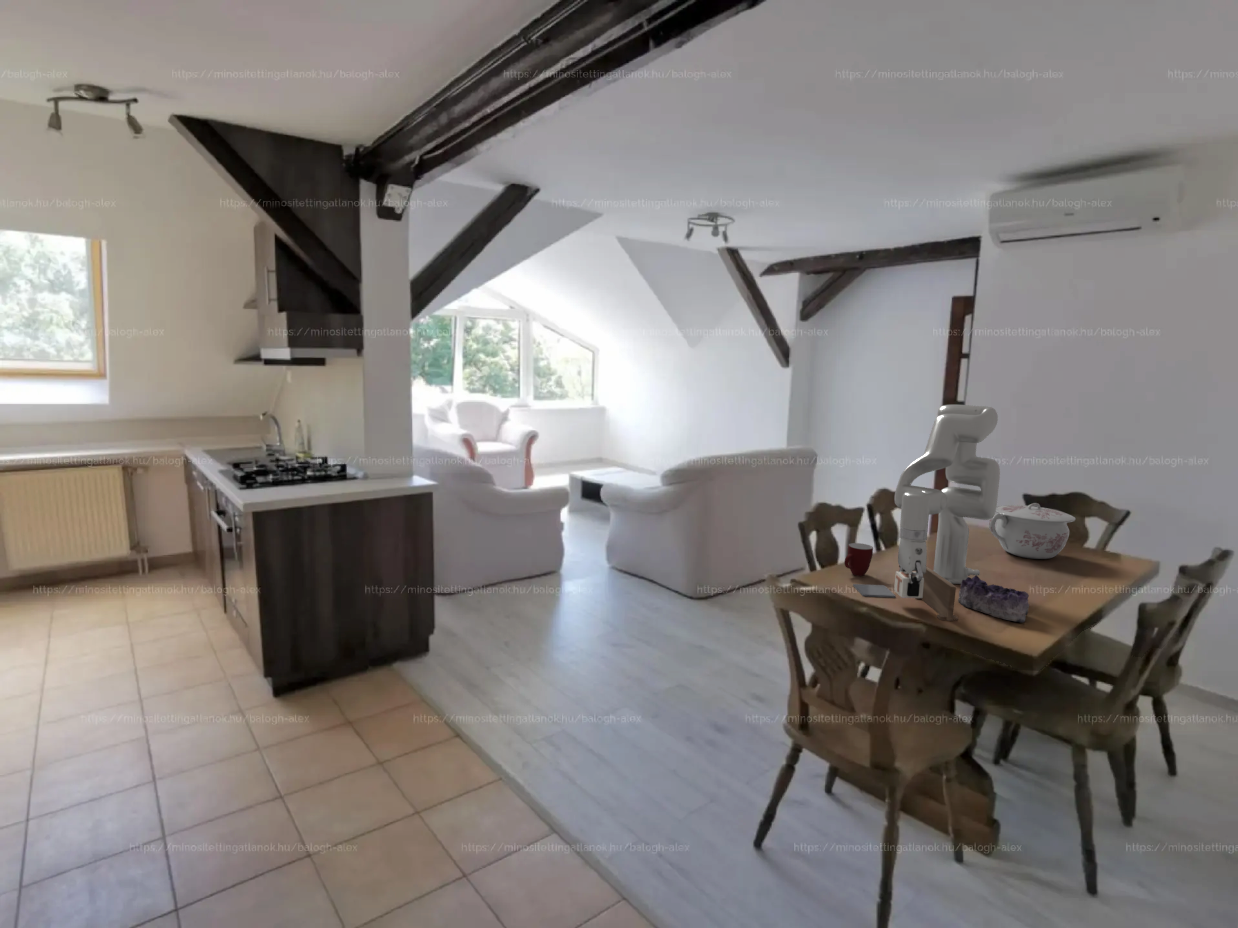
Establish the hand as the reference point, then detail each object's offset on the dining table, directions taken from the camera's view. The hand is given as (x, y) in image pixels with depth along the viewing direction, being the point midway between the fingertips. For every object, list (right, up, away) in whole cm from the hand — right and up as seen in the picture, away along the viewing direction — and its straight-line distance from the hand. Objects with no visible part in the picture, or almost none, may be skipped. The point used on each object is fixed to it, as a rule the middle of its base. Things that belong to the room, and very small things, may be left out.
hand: (908, 591), depth 200 cm
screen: (+8, -5, 0) cm, 9 cm away
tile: (-5, -3, +13) cm, 14 cm away
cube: (0, -1, 0) cm, 1 cm away
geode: (+24, -6, -2) cm, 25 cm away
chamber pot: (+74, +2, +63) cm, 98 cm away
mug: (-5, 0, +30) cm, 30 cm away
